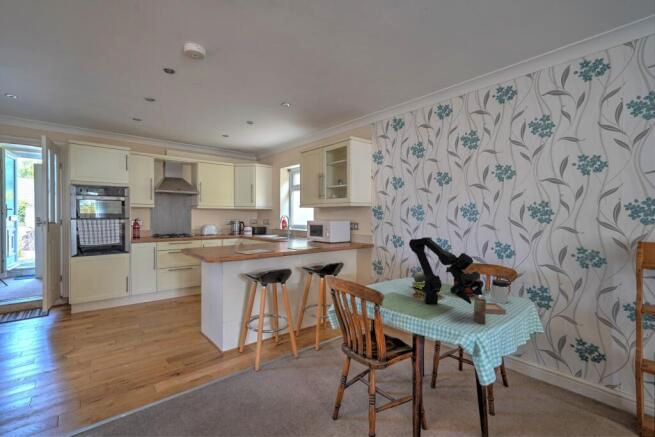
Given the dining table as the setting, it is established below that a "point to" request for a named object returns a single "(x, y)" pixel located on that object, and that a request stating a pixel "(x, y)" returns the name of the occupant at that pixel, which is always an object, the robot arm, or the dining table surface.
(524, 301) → the dining table surface
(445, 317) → the dining table surface
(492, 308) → the stand
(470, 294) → the plant pot
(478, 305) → the pepper mill
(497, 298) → the jar
